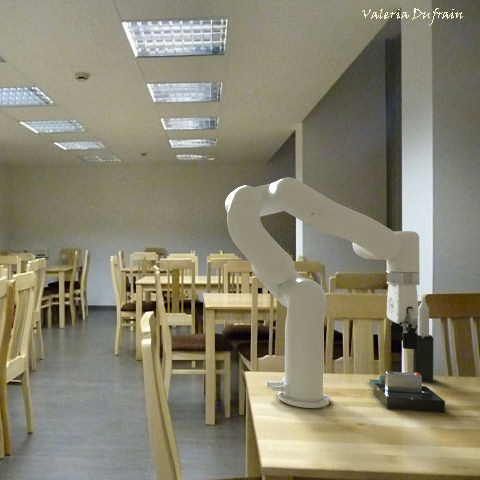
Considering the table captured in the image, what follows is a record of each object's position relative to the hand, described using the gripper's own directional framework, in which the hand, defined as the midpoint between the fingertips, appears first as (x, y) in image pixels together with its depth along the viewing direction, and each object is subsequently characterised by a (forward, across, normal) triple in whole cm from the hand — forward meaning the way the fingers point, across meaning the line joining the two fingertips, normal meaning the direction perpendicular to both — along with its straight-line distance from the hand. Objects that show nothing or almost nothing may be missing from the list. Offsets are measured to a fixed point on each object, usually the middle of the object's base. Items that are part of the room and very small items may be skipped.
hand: (403, 344), depth 115 cm
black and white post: (+15, -21, +12) cm, 28 cm away
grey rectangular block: (+12, +2, -1) cm, 12 cm away
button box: (+15, -10, 0) cm, 18 cm away
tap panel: (+15, +2, 0) cm, 15 cm away
